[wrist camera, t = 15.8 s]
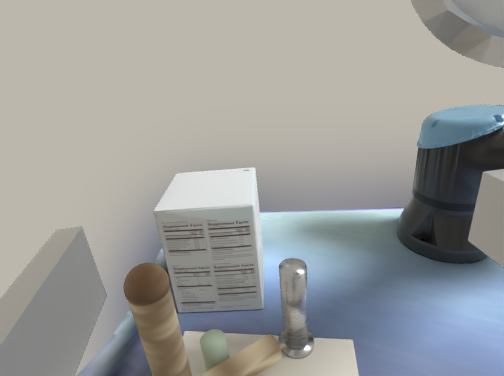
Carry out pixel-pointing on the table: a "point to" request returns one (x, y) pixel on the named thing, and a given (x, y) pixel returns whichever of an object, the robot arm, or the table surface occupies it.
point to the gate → (169, 333)
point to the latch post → (214, 348)
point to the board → (283, 356)
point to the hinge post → (294, 310)
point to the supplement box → (213, 240)
